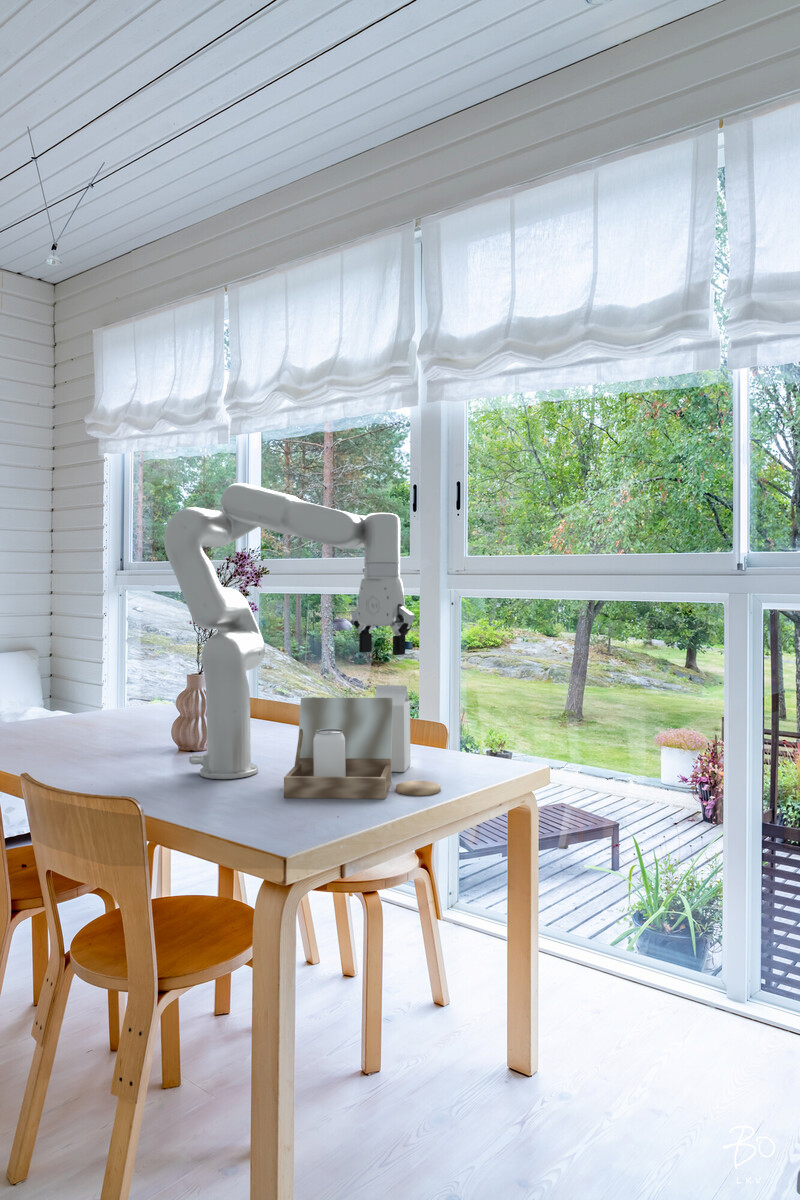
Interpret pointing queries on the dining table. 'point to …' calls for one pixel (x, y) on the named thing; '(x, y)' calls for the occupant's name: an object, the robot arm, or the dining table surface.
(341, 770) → the can
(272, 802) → the dining table surface
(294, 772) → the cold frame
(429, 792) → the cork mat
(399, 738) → the milk carton
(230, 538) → the robot arm
